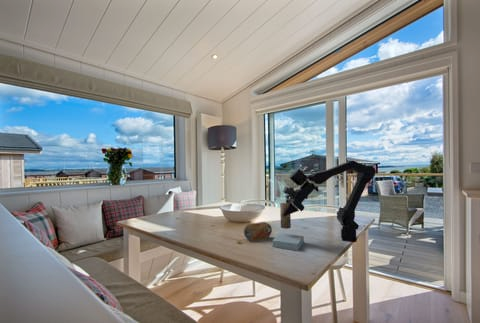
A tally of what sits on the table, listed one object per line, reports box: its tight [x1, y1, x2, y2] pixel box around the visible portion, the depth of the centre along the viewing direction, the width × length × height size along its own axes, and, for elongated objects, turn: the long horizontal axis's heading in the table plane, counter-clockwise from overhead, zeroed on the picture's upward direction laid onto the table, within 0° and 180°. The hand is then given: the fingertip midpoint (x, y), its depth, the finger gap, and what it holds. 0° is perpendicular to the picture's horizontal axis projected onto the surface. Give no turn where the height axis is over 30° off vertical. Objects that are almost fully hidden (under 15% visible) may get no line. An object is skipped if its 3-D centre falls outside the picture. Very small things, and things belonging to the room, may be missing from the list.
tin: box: [243, 221, 273, 241], centre depth 122 cm, size 15×3×8 cm, turn 105°
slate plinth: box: [272, 232, 305, 251], centre depth 113 cm, size 12×12×3 cm
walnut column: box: [279, 202, 292, 230], centre depth 118 cm, size 5×5×12 cm
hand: (282, 214), depth 118 cm, fingers closed on walnut column, 5 cm apart
